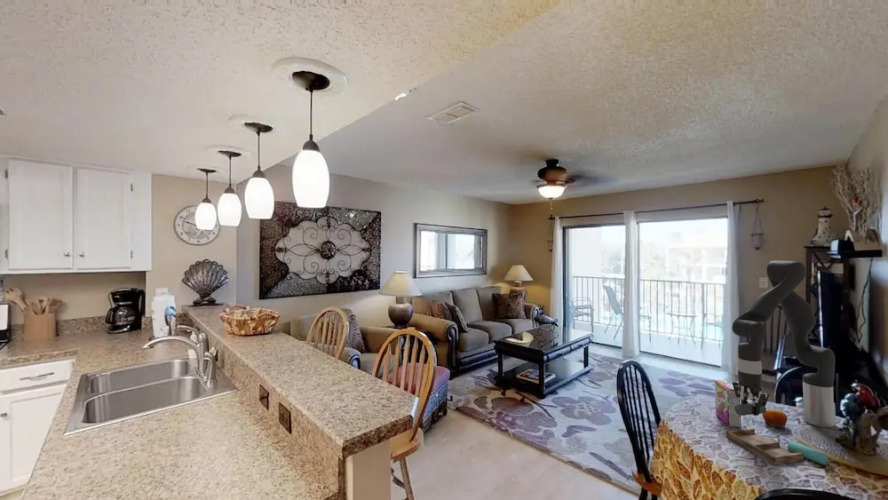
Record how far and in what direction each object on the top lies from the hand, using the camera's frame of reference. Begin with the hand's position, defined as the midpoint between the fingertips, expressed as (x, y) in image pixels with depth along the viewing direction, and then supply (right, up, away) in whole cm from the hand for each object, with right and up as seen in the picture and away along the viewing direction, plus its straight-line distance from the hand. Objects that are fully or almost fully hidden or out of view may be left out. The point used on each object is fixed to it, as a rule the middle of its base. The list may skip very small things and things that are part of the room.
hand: (750, 412), depth 148 cm
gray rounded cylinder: (0, -1, 0) cm, 1 cm away
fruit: (+21, -11, +12) cm, 26 cm away
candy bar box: (+4, -12, +17) cm, 21 cm away
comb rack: (+1, -12, -5) cm, 13 cm away
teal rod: (+13, -9, -11) cm, 19 cm away
